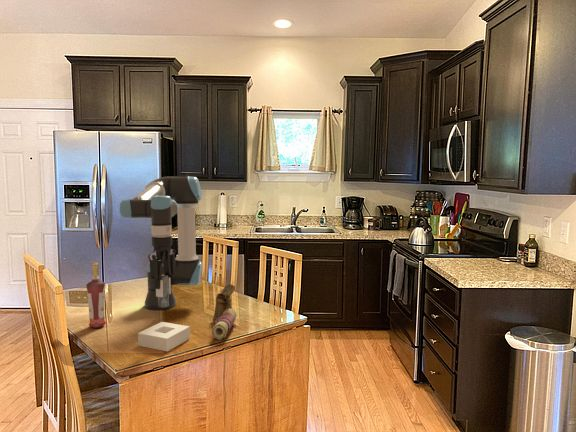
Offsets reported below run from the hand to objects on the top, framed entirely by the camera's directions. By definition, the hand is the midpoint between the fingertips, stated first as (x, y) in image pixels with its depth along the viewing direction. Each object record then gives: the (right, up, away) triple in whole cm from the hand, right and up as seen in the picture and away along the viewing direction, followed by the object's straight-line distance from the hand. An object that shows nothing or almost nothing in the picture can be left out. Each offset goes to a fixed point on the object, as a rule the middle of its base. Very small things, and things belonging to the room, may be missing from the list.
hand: (163, 294), depth 170 cm
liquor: (-34, -17, +19) cm, 43 cm away
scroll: (+22, -18, +14) cm, 31 cm away
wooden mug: (+20, -17, +28) cm, 38 cm away
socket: (0, -19, +2) cm, 19 cm away
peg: (0, -4, 0) cm, 4 cm away
